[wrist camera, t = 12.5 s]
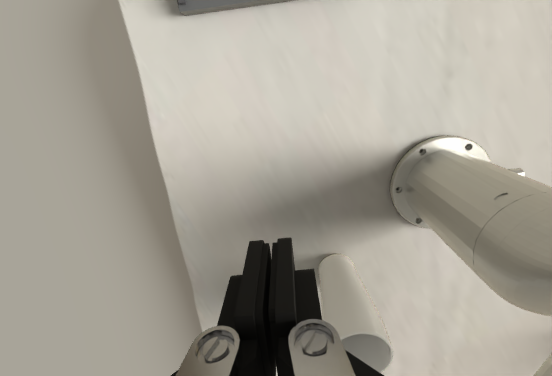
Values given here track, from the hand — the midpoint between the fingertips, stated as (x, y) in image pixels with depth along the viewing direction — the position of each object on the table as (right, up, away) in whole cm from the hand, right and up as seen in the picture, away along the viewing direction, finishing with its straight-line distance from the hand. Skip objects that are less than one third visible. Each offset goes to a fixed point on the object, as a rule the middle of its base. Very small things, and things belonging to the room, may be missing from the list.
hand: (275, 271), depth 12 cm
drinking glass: (+9, -9, +32) cm, 34 cm away
